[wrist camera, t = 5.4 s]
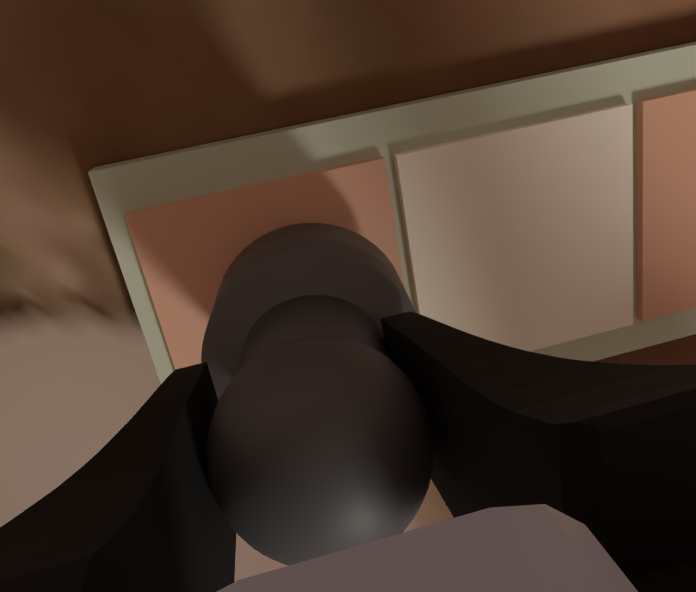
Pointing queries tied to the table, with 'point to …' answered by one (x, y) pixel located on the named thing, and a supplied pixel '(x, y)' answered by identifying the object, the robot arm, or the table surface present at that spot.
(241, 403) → the pawn
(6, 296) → the table surface
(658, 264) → the board
